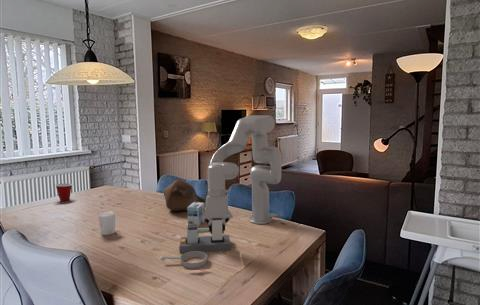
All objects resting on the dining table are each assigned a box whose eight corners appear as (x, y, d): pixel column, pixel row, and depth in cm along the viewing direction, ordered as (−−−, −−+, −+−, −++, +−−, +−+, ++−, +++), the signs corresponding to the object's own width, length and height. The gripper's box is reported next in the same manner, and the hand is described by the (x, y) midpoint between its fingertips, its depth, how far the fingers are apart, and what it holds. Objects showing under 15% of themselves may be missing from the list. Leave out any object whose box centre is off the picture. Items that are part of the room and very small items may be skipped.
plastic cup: (76, 200, 222) (75, 183, 221) (59, 203, 214) (58, 186, 213) (70, 197, 230) (69, 181, 228) (54, 200, 222) (52, 184, 220)
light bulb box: (199, 227, 167) (198, 207, 166) (187, 226, 168) (186, 207, 167) (205, 220, 177) (204, 202, 176) (194, 219, 179) (193, 201, 177)
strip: (229, 243, 146) (228, 233, 145) (230, 252, 136) (230, 242, 135) (181, 245, 143) (181, 236, 143) (179, 255, 134) (179, 245, 133)
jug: (157, 213, 190) (205, 222, 189) (159, 185, 184) (209, 193, 183) (167, 198, 209) (211, 206, 209) (169, 172, 203) (214, 179, 202)
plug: (221, 235, 142) (221, 214, 141) (222, 239, 137) (222, 217, 136) (212, 236, 141) (211, 215, 140) (212, 240, 137) (211, 218, 136)
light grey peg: (198, 245, 141) (197, 223, 140) (197, 249, 137) (197, 227, 136) (188, 245, 141) (187, 224, 140) (187, 249, 136) (186, 228, 135)
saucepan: (206, 271, 120) (206, 262, 120) (159, 272, 119) (159, 263, 119) (208, 258, 131) (208, 249, 130) (165, 259, 130) (165, 250, 130)
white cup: (119, 230, 163) (118, 212, 161) (108, 236, 155) (107, 217, 154) (107, 229, 165) (106, 211, 164) (96, 234, 158) (94, 215, 156)
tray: (216, 232, 159) (216, 227, 159) (217, 240, 149) (216, 235, 148) (194, 233, 158) (194, 228, 158) (193, 241, 147) (193, 236, 147)
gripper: (234, 190, 142) (235, 228, 144) (197, 191, 140) (198, 230, 142) (236, 194, 134) (236, 234, 136) (197, 195, 132) (197, 236, 135)
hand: (217, 232), depth 139 cm, fingers closed on plug, 4 cm apart
